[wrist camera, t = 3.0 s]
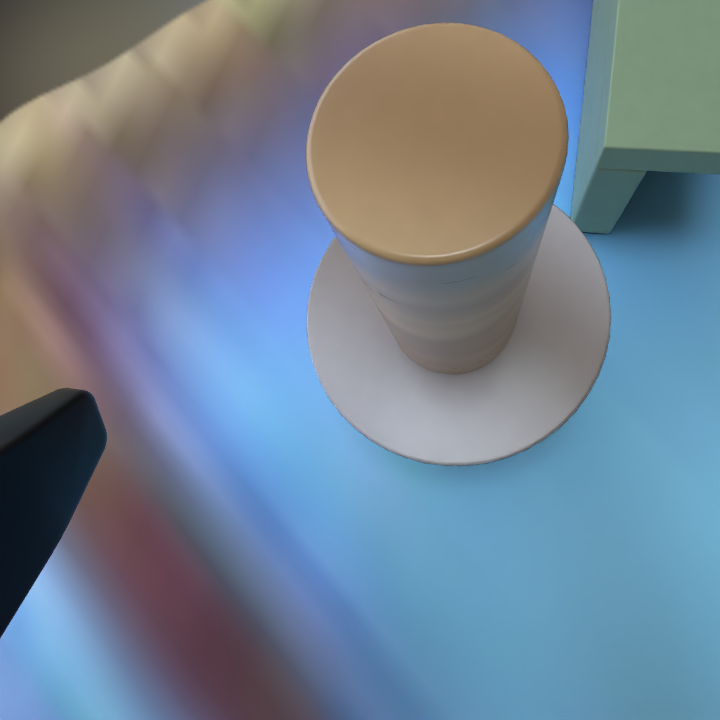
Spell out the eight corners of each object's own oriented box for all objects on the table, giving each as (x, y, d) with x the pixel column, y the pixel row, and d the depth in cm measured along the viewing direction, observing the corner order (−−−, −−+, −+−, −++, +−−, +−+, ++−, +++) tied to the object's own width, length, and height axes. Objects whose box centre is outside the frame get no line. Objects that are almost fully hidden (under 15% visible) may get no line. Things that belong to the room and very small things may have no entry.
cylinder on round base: (537, 499, 17) (686, 568, 5) (316, 425, 19) (48, 348, 7) (602, 277, 18) (861, -100, 6) (385, 222, 19) (252, -167, 8)
